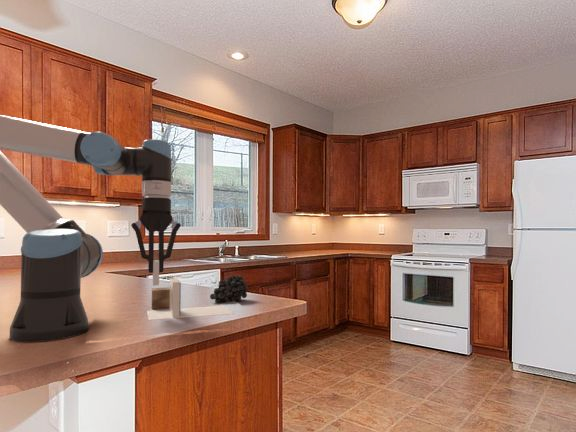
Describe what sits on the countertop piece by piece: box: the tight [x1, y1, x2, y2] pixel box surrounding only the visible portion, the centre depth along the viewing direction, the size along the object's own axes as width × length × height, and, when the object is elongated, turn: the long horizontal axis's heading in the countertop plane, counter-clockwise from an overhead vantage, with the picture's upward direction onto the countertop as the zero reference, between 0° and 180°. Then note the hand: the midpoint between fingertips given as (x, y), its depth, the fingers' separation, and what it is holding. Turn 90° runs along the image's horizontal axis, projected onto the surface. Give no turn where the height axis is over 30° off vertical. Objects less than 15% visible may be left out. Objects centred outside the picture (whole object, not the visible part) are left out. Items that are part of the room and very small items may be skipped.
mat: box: [146, 305, 234, 321], centre depth 108 cm, size 22×12×1 cm, turn 112°
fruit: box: [209, 274, 249, 304], centre depth 127 cm, size 9×8×15 cm
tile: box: [169, 277, 182, 317], centre depth 107 cm, size 2×9×9 cm, turn 21°
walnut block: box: [151, 286, 170, 310], centre depth 115 cm, size 5×5×6 cm
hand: (155, 284), depth 105 cm, fingers closed
